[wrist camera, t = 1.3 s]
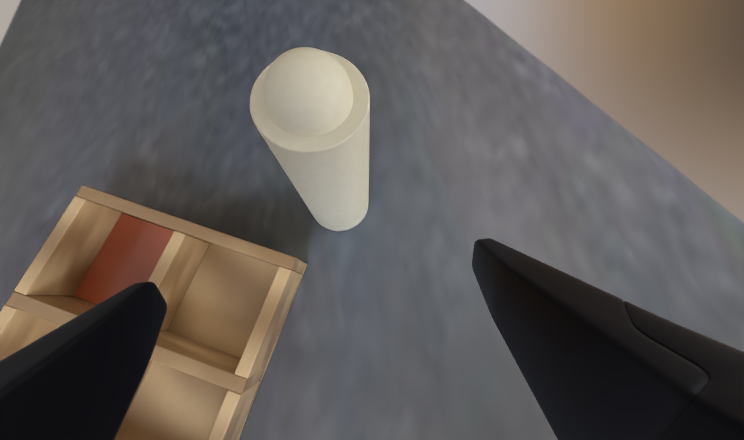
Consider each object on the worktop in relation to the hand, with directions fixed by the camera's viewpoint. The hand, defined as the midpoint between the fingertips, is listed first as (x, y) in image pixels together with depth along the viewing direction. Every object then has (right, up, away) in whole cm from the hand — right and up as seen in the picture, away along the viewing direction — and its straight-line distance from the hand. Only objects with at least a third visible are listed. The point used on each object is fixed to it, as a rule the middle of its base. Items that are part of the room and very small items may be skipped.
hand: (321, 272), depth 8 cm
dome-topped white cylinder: (-1, +3, +14) cm, 14 cm away
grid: (-13, -6, +11) cm, 18 cm away
